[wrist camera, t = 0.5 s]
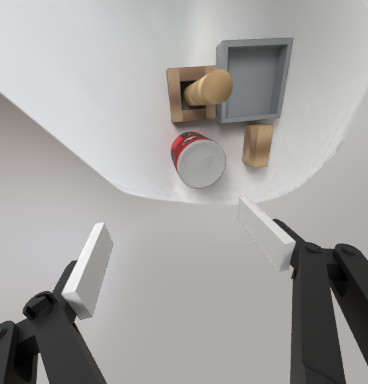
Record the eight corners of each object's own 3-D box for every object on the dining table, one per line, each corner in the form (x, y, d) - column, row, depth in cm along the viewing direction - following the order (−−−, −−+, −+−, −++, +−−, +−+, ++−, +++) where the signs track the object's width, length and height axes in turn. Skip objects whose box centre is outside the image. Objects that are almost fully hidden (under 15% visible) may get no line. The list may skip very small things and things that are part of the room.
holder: (166, 71, 29) (167, 68, 27) (210, 68, 30) (215, 65, 28) (171, 121, 33) (173, 122, 30) (211, 117, 33) (215, 118, 31)
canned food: (213, 142, 36) (235, 155, 26) (193, 173, 38) (207, 196, 29) (182, 123, 33) (195, 129, 23) (163, 158, 36) (168, 177, 26)
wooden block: (245, 124, 35) (258, 126, 31) (258, 123, 36) (273, 125, 31) (242, 161, 39) (253, 168, 35) (254, 159, 39) (267, 166, 35)
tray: (216, 46, 29) (223, 40, 26) (280, 43, 30) (293, 37, 27) (215, 122, 34) (221, 123, 31) (270, 116, 35) (279, 117, 33)
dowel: (181, 86, 30) (204, 70, 17) (198, 85, 31) (233, 68, 17) (182, 106, 32) (204, 105, 19) (199, 105, 32) (232, 102, 19)
